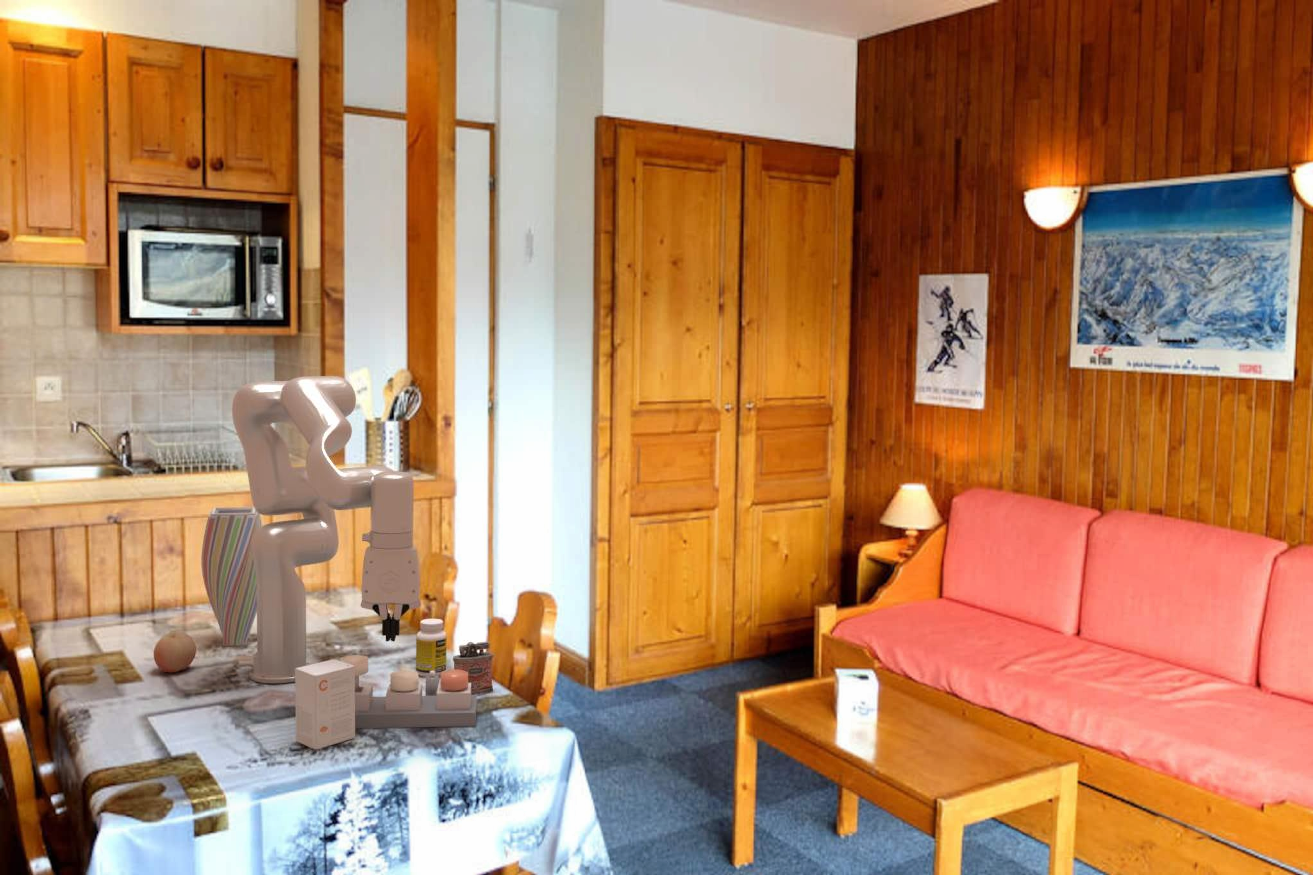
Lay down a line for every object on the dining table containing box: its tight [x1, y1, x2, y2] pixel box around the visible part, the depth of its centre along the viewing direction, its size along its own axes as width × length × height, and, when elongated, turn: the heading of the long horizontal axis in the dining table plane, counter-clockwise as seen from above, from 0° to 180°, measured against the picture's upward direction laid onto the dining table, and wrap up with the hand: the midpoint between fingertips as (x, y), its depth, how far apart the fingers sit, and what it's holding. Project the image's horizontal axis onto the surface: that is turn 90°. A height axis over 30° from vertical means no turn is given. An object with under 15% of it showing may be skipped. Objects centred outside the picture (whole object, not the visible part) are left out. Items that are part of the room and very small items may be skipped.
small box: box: [294, 658, 356, 751], centre depth 197 cm, size 8×6×13 cm
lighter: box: [452, 641, 494, 696], centre depth 225 cm, size 8×3×10 cm, turn 117°
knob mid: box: [389, 669, 419, 692], centre depth 209 cm, size 5×5×5 cm
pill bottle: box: [415, 618, 448, 678], centre depth 236 cm, size 6×6×11 cm
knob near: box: [339, 654, 369, 689], centre depth 207 cm, size 5×5×5 cm
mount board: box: [355, 682, 478, 729], centre depth 209 cm, size 26×10×6 cm, turn 97°
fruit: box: [153, 630, 197, 674], centre depth 234 cm, size 8×8×8 cm
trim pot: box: [424, 670, 440, 696], centre depth 218 cm, size 3×3×6 cm
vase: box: [200, 506, 263, 647], centre depth 254 cm, size 14×14×30 cm
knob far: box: [439, 669, 468, 691], centre depth 210 cm, size 5×5×5 cm
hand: (390, 639), depth 208 cm, fingers closed
